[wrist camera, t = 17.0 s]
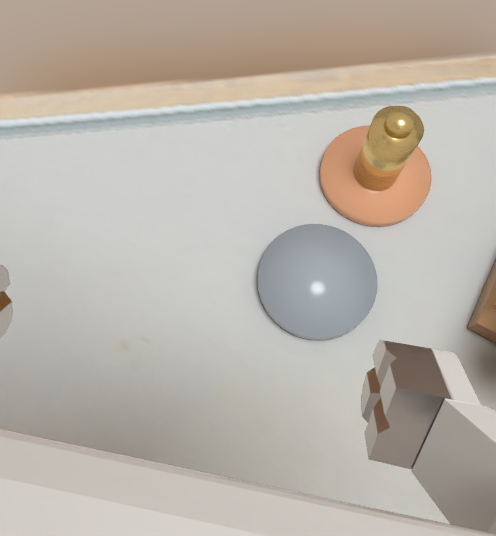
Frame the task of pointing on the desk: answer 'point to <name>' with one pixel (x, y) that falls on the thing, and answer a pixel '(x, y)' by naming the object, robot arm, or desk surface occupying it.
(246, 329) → the desk surface
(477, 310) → the balance
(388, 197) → the terracotta dish
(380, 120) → the brass weight
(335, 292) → the grey glossy dome
